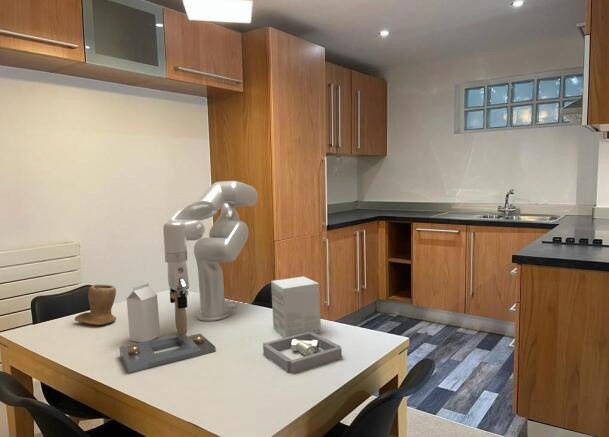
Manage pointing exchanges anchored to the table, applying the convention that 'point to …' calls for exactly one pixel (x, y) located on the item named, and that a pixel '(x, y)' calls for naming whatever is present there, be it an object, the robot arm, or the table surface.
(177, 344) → the lower end link
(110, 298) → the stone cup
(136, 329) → the milk carton
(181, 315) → the handle
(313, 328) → the supplement box
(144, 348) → the upper end link
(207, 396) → the table surface
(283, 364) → the parts fence
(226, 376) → the table surface
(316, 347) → the pipe fitting
